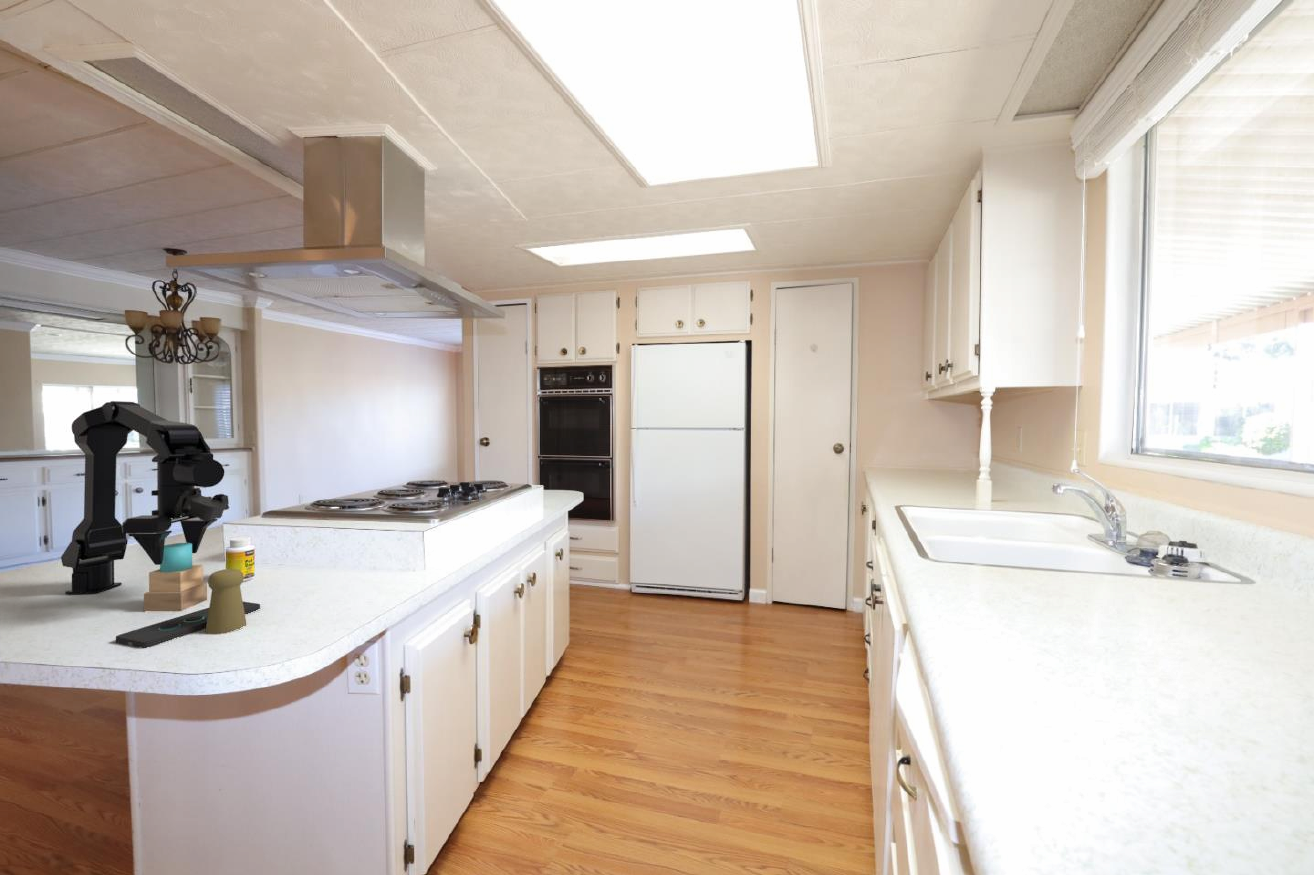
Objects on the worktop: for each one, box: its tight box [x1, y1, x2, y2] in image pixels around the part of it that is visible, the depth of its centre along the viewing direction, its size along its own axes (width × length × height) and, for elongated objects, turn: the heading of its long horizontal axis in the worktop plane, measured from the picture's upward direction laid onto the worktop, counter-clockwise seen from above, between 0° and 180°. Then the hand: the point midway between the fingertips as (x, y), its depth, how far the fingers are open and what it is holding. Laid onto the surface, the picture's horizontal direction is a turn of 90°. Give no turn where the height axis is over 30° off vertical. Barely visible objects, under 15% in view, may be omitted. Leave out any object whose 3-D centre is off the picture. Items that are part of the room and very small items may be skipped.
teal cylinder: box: [159, 542, 193, 573], centre depth 110 cm, size 5×5×5 cm
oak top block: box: [148, 564, 204, 592], centre depth 111 cm, size 6×6×4 cm
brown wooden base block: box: [143, 582, 208, 612], centre depth 111 cm, size 7×7×4 cm
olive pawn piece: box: [205, 568, 247, 635], centre depth 99 cm, size 6×6×11 cm
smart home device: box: [115, 601, 261, 649], centre depth 101 cm, size 8×2×20 cm
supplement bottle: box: [225, 536, 256, 583], centre depth 128 cm, size 6×6×10 cm
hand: (176, 558), depth 110 cm, fingers open, 9 cm apart
